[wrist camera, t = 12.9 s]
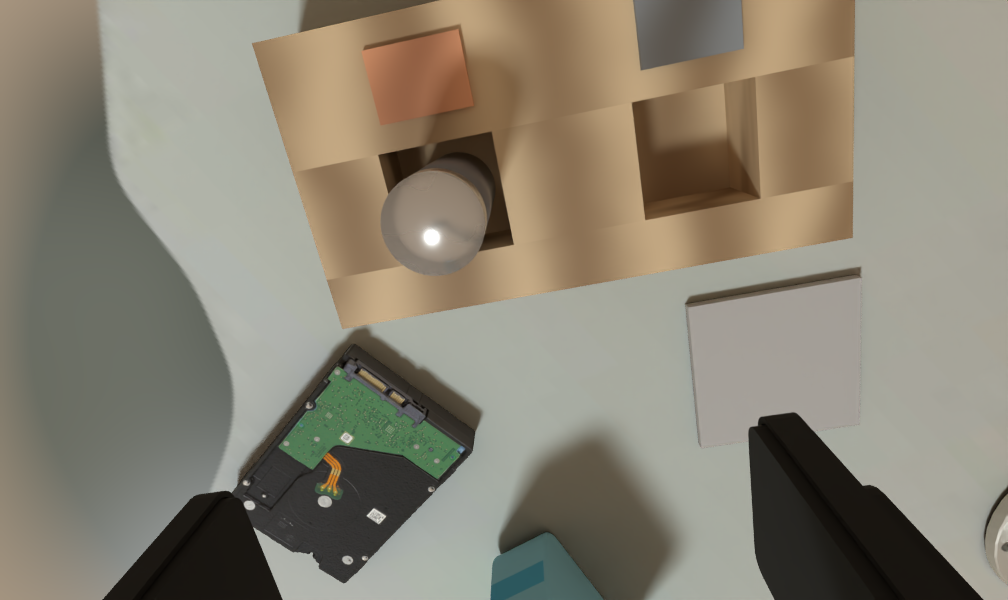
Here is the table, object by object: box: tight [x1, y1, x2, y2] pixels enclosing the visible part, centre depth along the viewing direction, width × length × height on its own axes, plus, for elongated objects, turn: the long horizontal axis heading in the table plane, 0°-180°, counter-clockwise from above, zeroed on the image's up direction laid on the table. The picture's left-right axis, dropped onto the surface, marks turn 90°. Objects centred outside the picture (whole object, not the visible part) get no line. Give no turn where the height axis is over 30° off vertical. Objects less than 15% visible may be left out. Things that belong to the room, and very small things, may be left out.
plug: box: [380, 152, 496, 276], centre depth 26 cm, size 4×4×10 cm
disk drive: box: [232, 344, 475, 583], centre depth 37 cm, size 10×3×15 cm
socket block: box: [252, 0, 855, 329], centre depth 28 cm, size 26×14×5 cm, turn 101°
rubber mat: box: [685, 275, 862, 448], centre depth 34 cm, size 10×10×1 cm
